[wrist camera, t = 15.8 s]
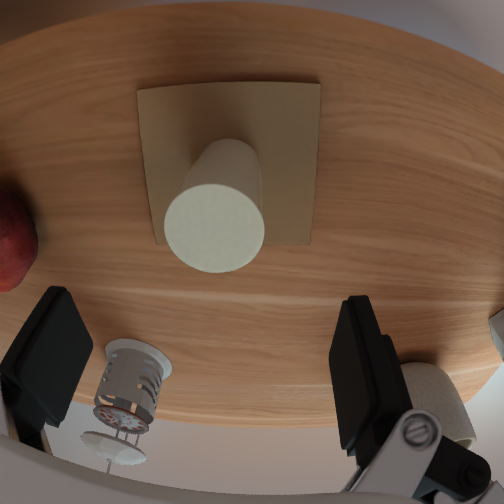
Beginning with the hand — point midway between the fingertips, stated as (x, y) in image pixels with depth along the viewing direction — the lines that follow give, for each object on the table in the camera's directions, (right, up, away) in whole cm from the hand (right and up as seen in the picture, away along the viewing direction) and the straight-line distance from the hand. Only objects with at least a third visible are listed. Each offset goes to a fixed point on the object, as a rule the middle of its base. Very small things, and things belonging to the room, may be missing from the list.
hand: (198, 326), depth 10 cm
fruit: (-24, +6, +17) cm, 30 cm away
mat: (0, +9, +15) cm, 17 cm away
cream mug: (0, +9, +14) cm, 17 cm away
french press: (-14, -13, +30) cm, 35 cm away
